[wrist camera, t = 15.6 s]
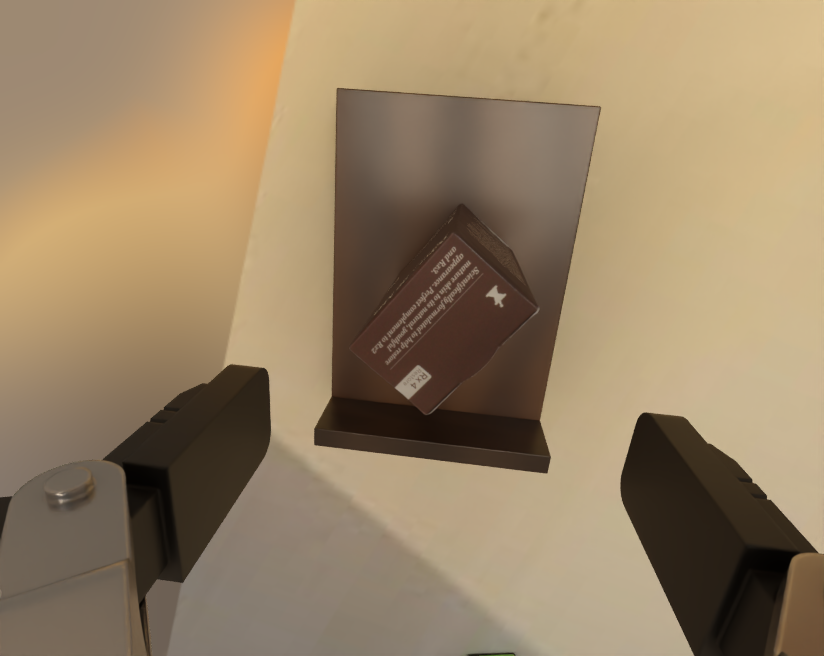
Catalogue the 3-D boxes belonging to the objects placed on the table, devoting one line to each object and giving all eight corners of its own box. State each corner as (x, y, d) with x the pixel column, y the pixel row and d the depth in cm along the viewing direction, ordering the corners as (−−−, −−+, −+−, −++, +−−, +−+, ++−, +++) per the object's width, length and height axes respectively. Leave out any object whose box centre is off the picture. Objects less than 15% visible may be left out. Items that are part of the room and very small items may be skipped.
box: (457, 197, 26) (454, 226, 15) (514, 250, 27) (552, 316, 16) (389, 274, 28) (342, 351, 17) (444, 322, 29) (434, 426, 18)
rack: (347, 379, 37) (314, 445, 28) (355, 99, 30) (314, 75, 21) (526, 399, 36) (547, 473, 27) (578, 114, 29) (627, 96, 20)
